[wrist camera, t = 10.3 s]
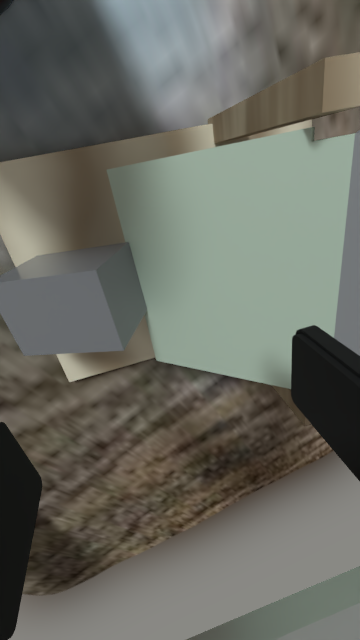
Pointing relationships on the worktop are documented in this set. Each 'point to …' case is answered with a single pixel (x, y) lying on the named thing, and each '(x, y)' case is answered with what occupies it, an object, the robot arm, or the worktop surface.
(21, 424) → the worktop surface
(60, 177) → the frame
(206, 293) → the trapdoor
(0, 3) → the vase
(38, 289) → the basalt block
